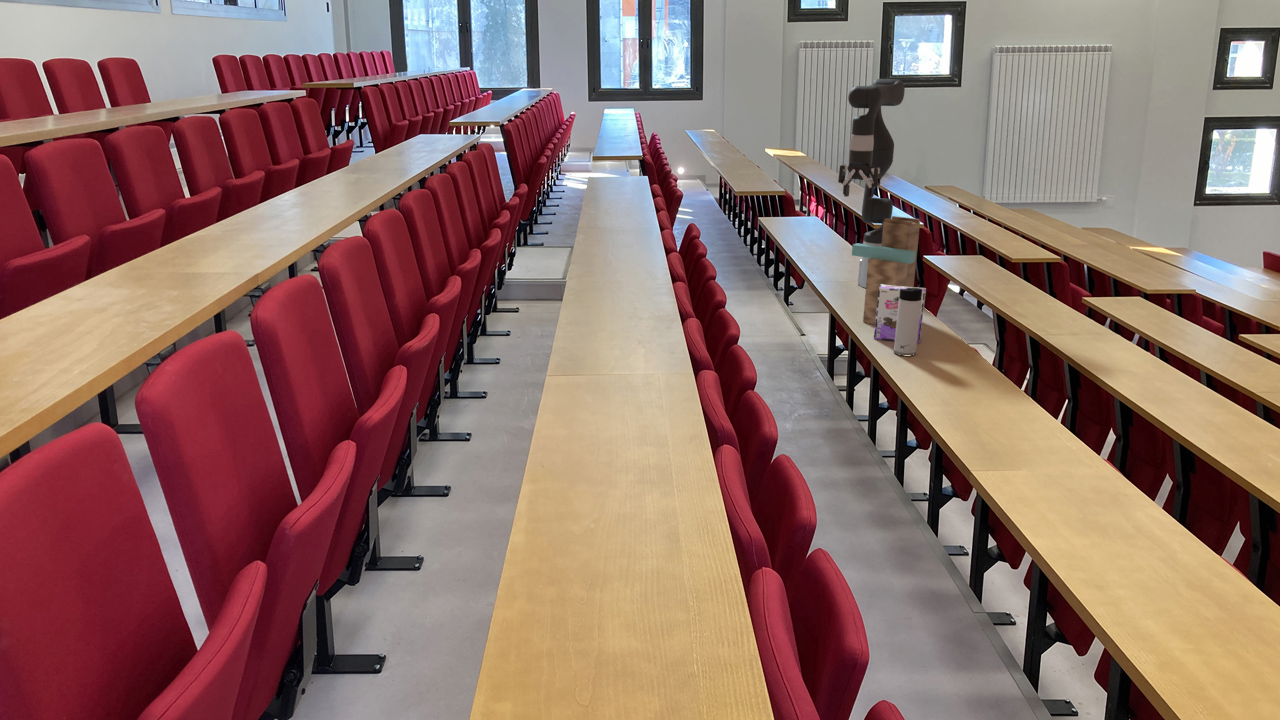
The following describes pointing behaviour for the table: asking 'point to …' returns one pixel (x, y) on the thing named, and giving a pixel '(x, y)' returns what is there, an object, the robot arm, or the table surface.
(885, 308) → the candy box
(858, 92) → the robot arm
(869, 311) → the wooden block
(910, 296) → the travel mug
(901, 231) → the tall stand
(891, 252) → the light blue rectangular bar
